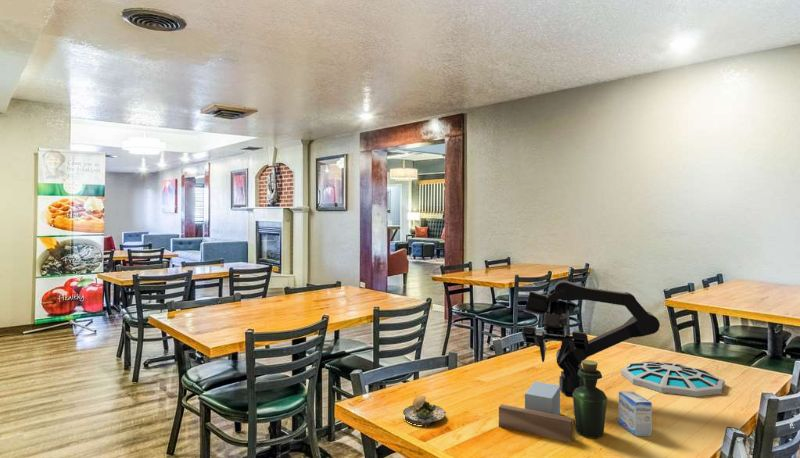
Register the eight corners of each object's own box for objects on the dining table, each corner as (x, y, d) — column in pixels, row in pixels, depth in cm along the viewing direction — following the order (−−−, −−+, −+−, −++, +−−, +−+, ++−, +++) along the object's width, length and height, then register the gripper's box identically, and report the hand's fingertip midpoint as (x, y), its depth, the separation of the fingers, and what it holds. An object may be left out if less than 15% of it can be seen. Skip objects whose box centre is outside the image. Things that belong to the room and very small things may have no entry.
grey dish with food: (433, 431, 118) (433, 402, 117) (394, 421, 124) (394, 393, 124) (453, 415, 128) (453, 388, 128) (416, 406, 134) (416, 381, 134)
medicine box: (617, 423, 122) (617, 390, 122) (633, 422, 122) (633, 390, 122) (635, 436, 114) (635, 402, 114) (652, 436, 115) (652, 401, 114)
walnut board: (501, 422, 122) (501, 404, 122) (572, 438, 113) (572, 418, 113) (498, 426, 120) (498, 407, 120) (570, 442, 111) (570, 421, 111)
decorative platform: (624, 389, 148) (624, 374, 148) (618, 364, 175) (618, 351, 175) (738, 403, 136) (738, 387, 136) (713, 374, 163) (713, 360, 163)
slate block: (534, 408, 132) (534, 381, 132) (560, 413, 128) (560, 385, 128) (524, 423, 122) (524, 393, 122) (551, 429, 119) (551, 398, 119)
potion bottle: (579, 440, 112) (580, 367, 112) (567, 425, 121) (567, 357, 120) (612, 440, 112) (613, 367, 112) (598, 425, 121) (598, 357, 120)
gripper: (523, 300, 143) (513, 343, 134) (587, 305, 134) (581, 352, 124) (529, 320, 150) (520, 363, 140) (590, 327, 141) (585, 373, 131)
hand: (550, 362), depth 134 cm, fingers open, 4 cm apart
